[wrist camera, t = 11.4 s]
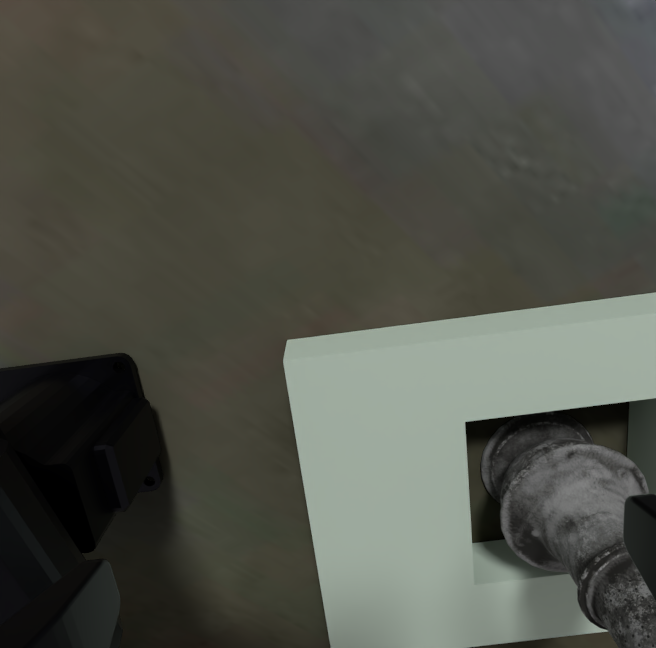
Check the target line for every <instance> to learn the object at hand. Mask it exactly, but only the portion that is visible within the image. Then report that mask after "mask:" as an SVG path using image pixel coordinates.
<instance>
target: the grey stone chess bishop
mask: <svg viewBox="0 0 656 648" xmlns="http://www.w3.org/2000/svg"><path fill="white" fill-rule="evenodd" d="M480 466H481V477H482V480H483V482H484V485H485V487H486V489H487V491H488V492H489V493H490V494H491V496H492V497H493V498H494V499H495V500H496V501H497V502H499V503H500V504H501V510H500V522H501V530H502V532H503V535H504V537H505V539H506V542H507V544H508V545H509V547H510V548H511V549H512V550H513V551H514V552H515V554H516V555H517V556H518V557H519V558H521V559H522V560H524V561H525V562H527V563H529V564H530V565H532V566H534V567H538V568H541V569H544V570H547V571H554V572H568V573H569V574H570V576H571V577H572V579H573V581H574V582H575V584H576V585H577V587H578V588H577V600H578V603H579V606H580V609H581V611H582V613H583V614H584V615H585V616H586V618H587V619H588V620H589V621H590V622H591V623H593V624H594V625H596V626H597V627H599V628H601V629H605V630H608V631H609V633H610V634H611V636H612V638H613V639H614V641H615V642H616V644H617V645H618V647H619V648H656V601H655V599H654V598H653V596H652V594H651V592H650V591H649V589H648V587H647V585H646V584H645V582H644V580H643V578H642V576H641V575H640V573H639V571H638V569H637V568H636V566H635V564H634V562H633V561H632V559H631V557H630V555H629V554H628V552H627V550H626V547H625V544H624V540H623V521H624V503H625V500H626V498H627V497H629V496H631V495H639V494H648V493H649V490H648V487H647V483H646V480H645V477H644V475H643V474H642V473H641V471H640V470H639V468H638V467H637V466H636V464H635V463H634V462H633V461H631V460H630V459H629V458H627V457H626V456H624V455H623V454H622V453H620V452H619V451H616V450H613V449H610V448H607V447H605V446H602V445H596V444H594V443H593V440H592V437H591V435H590V434H589V433H588V431H587V430H586V429H585V427H584V426H583V425H582V424H581V423H579V422H578V421H576V420H575V419H574V418H572V417H571V416H568V415H565V414H562V413H560V412H555V411H549V412H541V413H533V414H525V415H520V416H518V417H515V418H513V419H511V420H510V421H508V422H507V423H505V424H504V425H502V426H501V427H500V428H499V429H498V430H497V431H496V432H495V433H494V434H493V435H492V437H491V438H490V439H489V441H488V443H487V445H486V447H485V449H484V450H483V454H482V459H481V464H480Z"/></svg>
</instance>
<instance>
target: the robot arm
mask: <svg viewBox="0 0 656 648" xmlns="http://www.w3.org/2000/svg"><path fill="white" fill-rule="evenodd" d="M117 362H121V363H123V364H124V366H125V370H122V369H119V368H118V367H117V365H116V363H117ZM160 452H161V446H160V442H159V439H158V435H157V431H156V427H155V423H154V419H153V415H152V411H151V407H150V403H149V401H148V400H147V399H145V398H144V397H143V395H142V391H141V388H140V384H139V380H138V376H137V372H136V368H135V364H134V361H133V359H132V358H131V357H130V356H129V355H127V354H125V353H116V354H108V355H101V356H93V357H85V358H78V359H70V360H62V361H54V362H47V363H39V364H31V365H24V366H16V367H8V368H1V369H0V648H119V645H120V641H121V637H122V632H123V629H122V624H121V619H120V614H119V610H120V594H119V591H118V588H117V584H116V581H115V578H114V575H113V571H112V568H111V565H110V563H109V562H108V561H107V560H106V559H96V560H88V561H86V559H85V558H84V556H83V555H82V553H89V552H92V551H94V549H95V548H96V546H97V545H98V543H99V541H100V540H101V538H102V536H103V535H104V533H105V531H106V530H107V528H108V526H109V525H110V523H111V521H112V520H113V518H114V516H115V515H116V513H117V512H123V511H126V510H127V508H128V507H129V506H130V504H131V503H132V501H133V499H134V497H135V496H136V494H137V493H139V492H147V491H153V490H156V489H157V488H158V487H159V486H160V484H161V482H162V480H163V473H162V469H161V465H160V462H159V458H158V456H159V454H160ZM147 476H150V477H152V478H154V480H155V481H150V480H148V479H147ZM623 540H624V544H625V547H626V550H627V552H628V554H629V555H630V557H631V559H632V561H633V562H634V564H635V566H636V568H637V569H638V571H639V573H640V575H641V576H642V578H643V580H644V582H645V584H646V585H647V587H648V589H649V591H650V592H651V594H652V596H653V598H654V599H655V601H656V495H655V494H650V493H648V494H639V495H631V496H629V497H627V498H626V500H625V503H624V521H623Z"/></svg>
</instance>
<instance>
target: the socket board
mask: <svg viewBox="0 0 656 648" xmlns="http://www.w3.org/2000/svg"><path fill="white" fill-rule="evenodd" d="M283 364H284V370H285V376H286V382H287V388H288V394H289V400H290V406H291V412H292V418H293V424H294V430H295V436H296V442H297V448H298V454H299V460H300V466H301V472H302V478H303V484H304V490H305V496H306V502H307V508H308V514H309V520H310V526H311V532H312V538H313V544H314V550H315V556H316V562H317V568H318V574H319V580H320V587H321V593H322V599H323V605H324V611H325V617H326V623H327V629H328V635H329V641H330V647H331V648H468V647H477V646H485V645H494V644H502V643H511V642H520V641H528V640H537V639H545V638H554V637H563V636H571V635H580V634H589V633H597V632H606V631H608V630H605V629H601V628H599V627H597V626H596V625H594V624H593V623H591V622H590V621H589V620H588V619H587V618H586V616H585V615H584V614H583V613H582V611H581V609H580V606H579V603H578V600H577V588H578V587H577V585H576V584H575V582H574V581H573V579H572V577H571V576H570V574H569V573H568V572H554V571H547V570H544V569H541V568H538V567H534V566H532V565H530V564H529V563H527V562H525V561H524V560H522V559H521V558H519V557H518V556H517V555H516V554H515V552H514V551H513V550H512V549H511V548H510V547H509V545H508V544H507V542H506V539H504V540H495V541H487V542H479V543H472V534H471V516H470V499H469V481H468V464H467V447H466V429H465V422H469V421H477V420H485V419H493V418H501V417H509V416H517V415H525V414H533V413H541V412H549V411H557V410H565V409H573V408H581V407H589V406H597V405H605V404H613V403H621V402H629V422H628V444H627V458H629V459H630V460H631V461H633V462H634V463H635V464H636V466H637V467H638V468H639V470H640V471H641V473H642V474H643V475H644V477H645V480H646V483H647V487H648V490H649V493H650V494H655V495H656V293H648V294H641V295H633V296H625V297H617V298H610V299H602V300H594V301H586V302H579V303H571V304H563V305H556V306H548V307H540V308H532V309H525V310H517V311H509V312H501V313H494V314H486V315H478V316H470V317H463V318H455V319H447V320H440V321H432V322H424V323H416V324H409V325H401V326H393V327H385V328H378V329H370V330H362V331H354V332H347V333H339V334H331V335H324V336H316V337H308V338H300V339H293V340H287V343H286V348H285V354H284V359H283Z"/></svg>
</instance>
